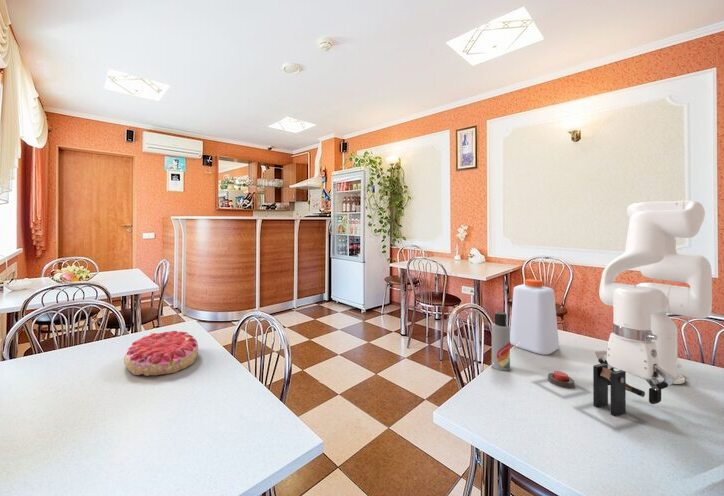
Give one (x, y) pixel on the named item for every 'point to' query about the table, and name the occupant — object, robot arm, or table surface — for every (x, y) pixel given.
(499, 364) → the lotion bottle
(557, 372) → the button
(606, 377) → the lever
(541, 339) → the plastic bottle
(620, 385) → the bracket
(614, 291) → the robot arm
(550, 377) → the button block
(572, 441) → the table surface
